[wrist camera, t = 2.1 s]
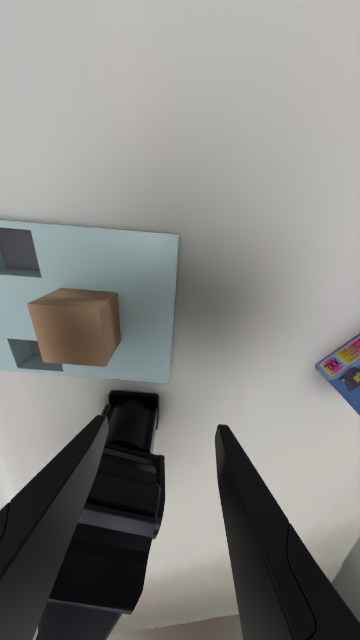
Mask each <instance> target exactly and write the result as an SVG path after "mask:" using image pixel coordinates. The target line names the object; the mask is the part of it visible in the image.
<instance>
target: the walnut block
mask: <svg viewBox="0 0 360 640" xmlns="http://www.w3.org/2000/svg"><path fill="white" fill-rule="evenodd" d="M27 306H28V310H29V313H30V317H31V320H32V324H33V327H34V331H35V334H36V338H37V341H38V345H39V349H40V352H41V356H42V359H43V362H46V363H59V364H72V365H84V366H97V367H106V366H107V364H108V363H109V361H110V359H111V357H112V356H113V354H114V352H115V351H116V349H117V347H118V345H119V344H120V342H121V333H120V317H119V302H118V292H107V291H95V290H82V289H70V288H59V289H57V290H55V291H53V292H51V293H49V294H47V295H44V296H42V297H40V298H38V299H36V300H34V301H32V302H29V303H27Z"/></svg>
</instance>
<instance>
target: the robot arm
mask: <svg viewBox="0 0 360 640" xmlns="http://www.w3.org/2000/svg"><path fill="white" fill-rule="evenodd" d="M155 398H156V399H155ZM109 404H110V405H108V404H107V405H106V406H105V408H104V410H103V412H102V414H101V415H97V416H96V417H95V418H94V419H93V420H92V421H91V422H90V423H89V424H88V425H87V426H86V427H85V428H84V429H83V430H82V431H81V432H80V433H79V434H78V435H76V436H75V437H74V438H73V439H72V440H71V441H70V442H69V443H68V444H67V445H66V446H65V447H64V448H63V449H62V450H61V451H60V452H59V453H58V454H57V455H56V456H55V457H54V458H53V459H52V460H51V461H50V462H49V463H48V464H47V465H46V466H45V467H44V468H43V469H42V470H41V471H40V472H39V473H38V474H37V475H36V476H35V477H34V478H33V479H32V480H31V481H30V482H29V483H28V484H27V485H26V486H25V487H24V488H23V489H22V490H21V491H20V492H19V493H18V494H17V495H16V496H15V497H14V498H13V499H11V501H10V502H9V503H7V504H6V505H5V506H4V507H3V508H2V509H1V510H0V640H33V637H34V635H35V632H36V629H37V627H38V635H37V637H36V640H106V639H107V637H108V636H109V634H110V633H111V631H112V629H113V628H114V626H115V625H116V623H117V621H118V620H119V618H120V616H121V615H122V613H123V614H131V613H132V612H133V610H134V608H135V606H136V604H137V602H138V600H139V598H140V596H141V594H142V591H143V585H144V579H145V573H146V566H147V561H148V555H149V551H150V546H151V542H152V539H155V538H156V536H157V534H158V532H159V529H160V525H161V521H162V517H163V511H164V504H165V466H164V456H163V455H155V454H152V451H153V444H154V438H155V431H156V430H157V428H158V413H159V396H158V395H156V394H143V393H130V392H117V391H111V392H110V393H109ZM215 449H216V464H217V478H218V487H219V493H220V500H221V506H222V512H223V518H224V524H225V530H226V536H227V543H228V549H229V555H230V561H231V567H232V573H233V579H234V586H235V592H236V598H237V604H238V610H239V616H240V622H241V628H242V634H243V640H360V623H359V621H358V620H357V618H356V617H355V615H354V614H353V613H352V611H351V610H350V609H349V607H348V606H347V605H346V604H345V602H344V601H343V599H342V598H341V596H340V595H339V594H338V592H337V591H336V590H335V588H334V587H333V585H332V584H331V583H330V581H329V580H328V578H327V577H326V576H325V574H324V573H323V571H322V570H321V569H320V567H319V566H318V564H317V563H316V562H315V560H314V559H313V557H312V556H311V554H310V553H309V551H308V550H307V548H306V547H305V545H304V544H303V542H302V541H301V539H300V537H299V536H298V534H297V533H296V531H295V530H294V528H293V526H292V525H291V524H290V523H289V521H288V519H287V517H286V516H285V514H284V512H283V511H282V509H281V508H280V506H279V505H278V503H277V502H276V500H275V498H274V497H273V495H272V494H271V492H270V491H269V489H268V487H267V486H266V484H265V483H264V481H263V480H262V478H261V477H260V475H259V473H258V472H257V470H256V469H255V467H254V466H253V464H252V462H251V461H250V459H249V458H248V456H247V455H246V453H245V451H244V450H243V448H242V447H241V445H240V444H239V442H238V441H237V439H236V437H235V436H234V434H233V433H232V431H231V430H230V428H229V427H228V426H227V425H222V424H219V425H218V427H217V431H216V435H215Z"/></svg>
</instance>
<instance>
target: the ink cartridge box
mask: <svg viewBox="0 0 360 640" xmlns="http://www.w3.org/2000/svg"><path fill="white" fill-rule="evenodd" d="M316 369H317V371H318V372H319V373H320V374H321V375H322V376H324V377H325V378H326V379H327V380H328V382H329V383H330V384H331V385H332V386H333V387H334V388H335V389H336V390H337V391H338V392H339V393H340V394H341V395H342V396H343V398H344V399H345V400H346V401H347V402H348V403H349V404H350V405H351V406H352V407H353V409H354V410H355V411H356V412H357V413H358V414H359V415H360V335H359V336H357V337H356V338H354V339H353V340H351V341H350V342H349V343H347V344H345V345H344V346H343V347H341V348H340V349H338V350H337V351H335V352H334V353H332V354H331V355H329V356H328V357H326V358H325V359H323V360H322V361H321V362H319V363H318V364H317V365H316Z"/></svg>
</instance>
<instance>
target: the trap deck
mask: <svg viewBox="0 0 360 640" xmlns="http://www.w3.org/2000/svg"><path fill="white" fill-rule="evenodd" d="M179 236H180V234H171V233H158V232H146V231H134V230H122V229H110V228H97V227H85V226H73V225H61V224H49V223H36V222H24V221H12V220H0V370H3V371H15V372H28V373H41V374H54V375H67V376H80V377H93V378H106V379H119V380H132V381H145V382H158V383H169V378H170V369H171V355H172V340H173V325H174V310H175V295H176V281H177V266H178V251H179ZM59 288H70V289H82V290H95V291H107V292H118V302H119V317H120V333H121V342H120V344H119V345H118V347H117V349H116V351H115V352H114V354H113V356H112V357H111V359H110V361H109V363H108V364H107V366H106V367H97V366H84V365H72V364H59V363H46V362H43V359H42V356H41V352H40V349H39V345H38V341H37V338H36V334H35V331H34V327H33V324H32V320H31V317H30V313H29V310H28V306H27V303H29V302H32V301H34V300H36V299H38V298H40V297H42V296H44V295H47V294H49V293H51V292H53V291H55V290H57V289H59Z"/></svg>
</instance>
